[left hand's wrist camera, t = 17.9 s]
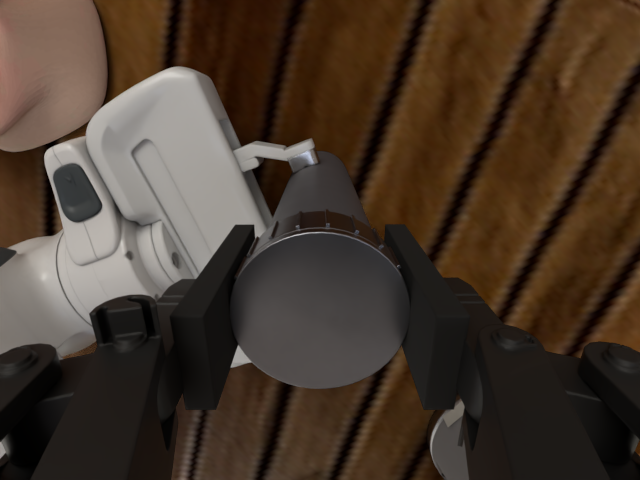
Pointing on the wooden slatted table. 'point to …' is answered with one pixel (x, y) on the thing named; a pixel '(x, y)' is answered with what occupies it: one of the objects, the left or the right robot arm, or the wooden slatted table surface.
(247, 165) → the right robot arm
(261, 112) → the wooden slatted table surface
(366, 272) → the lid
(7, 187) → the wooden slatted table surface
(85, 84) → the anatomical model
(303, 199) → the dark grey cylinder
